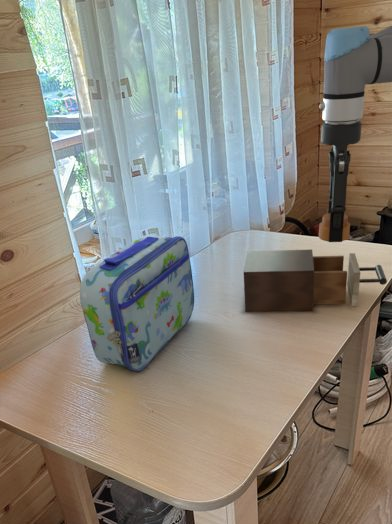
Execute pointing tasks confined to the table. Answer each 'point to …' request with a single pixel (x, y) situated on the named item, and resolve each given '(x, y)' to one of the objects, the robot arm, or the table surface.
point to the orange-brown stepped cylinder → (325, 227)
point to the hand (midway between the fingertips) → (334, 235)
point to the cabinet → (279, 281)
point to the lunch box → (138, 300)
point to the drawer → (340, 279)
